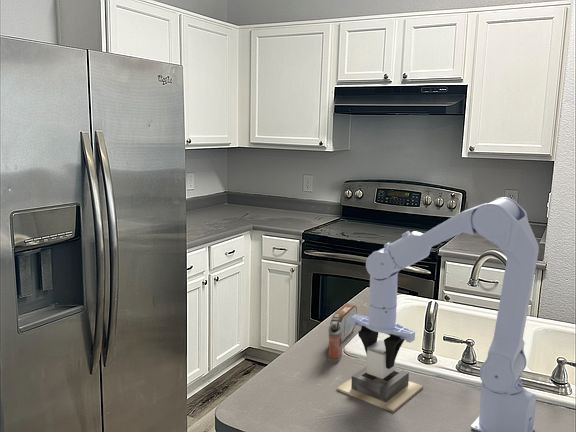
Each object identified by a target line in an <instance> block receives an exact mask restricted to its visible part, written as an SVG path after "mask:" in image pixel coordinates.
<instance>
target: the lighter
mask: <svg viewBox="0 0 576 432" xmlns="http://www.w3.org/2000/svg"><path fill="white" fill-rule="evenodd" d="M331 320H332V322H331V321H330V323H331V324H329V327H328V329H327V330H328V331H327V332H328V352H327V359H328V362H329V363H331V364H338V363H340V361H341V359H342V357H343V348H342V345H343V342H342V338H343V333H342V331H343V324H342V323H341V322H339V314H335V316H334V318H331Z"/></svg>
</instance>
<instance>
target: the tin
mask: <svg viewBox="0 0 576 432" xmlns="http://www.w3.org/2000/svg"><path fill="white" fill-rule="evenodd" d="M357 313H358V308H357V306H356V305H355V304H350V303H348V302H346V303H344V304H343V305H342V306H341V307H340V308H338V309H337V310H336V311H335V312H334V314H333V315H332V318H334V316H335V314H339V322H341V323H342V324H343V331H342V333H343V338H342V343H343V342H344V341H345V340H346V339H347V338H349V336H350V335H351V334H352V333H353V332H354V330H355V327H356V326H353V325H351V317H352V316H354V315H358V314H357ZM332 318H331V320H330V324H331V322H332ZM330 324H329V325H330Z"/></svg>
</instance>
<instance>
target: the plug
mask: <svg viewBox="0 0 576 432" xmlns="http://www.w3.org/2000/svg"><path fill="white" fill-rule="evenodd" d="M366 366H367V374H370V375H373V376H376V377H378V378H381V379H383V378H385V377H386V376H388V375H389V374H390V373H392V372H393V371H394V369H395V368H396V361H395V362H394V366H393V367H391V368H390V369H388V368H386V348H385V344H384V340H382V339H378V340H377V342H375V343H374V344H372V345H370V346H369V347H367V354H366Z"/></svg>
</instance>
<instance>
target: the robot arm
mask: <svg viewBox="0 0 576 432" xmlns="http://www.w3.org/2000/svg"><path fill="white" fill-rule="evenodd" d="M462 233H463V234H468V235H472V236H474V235H475V234H479V236H481V237H482V238H484V239H486V240H487V241H489V242H491V243H492V244H494V245H496V246H497V247H498V248H499V249H500V250H501V251H502V253H503V254H504V255H505V256H506V263H505V269H504V274H503V281H502V287H501V291H500V298H499V305H498V311H497V314H496V315H497V316H496V322H495V328H494V333H493V334H494V335H493V337H492V341H491V343H490V346H489V349H488V352H487V357H486V359H485V360H484V362H483V363H482V364H481V366H480V368H479V378H480V381H481V386H480V388H481V389H480V390H481V391H480V402H479V403H480V404H479V415H478V417H476V419H475V420H474V421H473V423H472V424H470V428H471V429H472V430H475V431H477V432H534V431H535V416H536V408H537V407H536V405H537V397H536V394H534V393H533V392H531V391H529V390H527V389H526V388H524V384H523V381H522V379H521V374H522V373H523V371H524V370H525V369H526V367H527V357H526V355H525V351H524V348H525V341H524V335H525V334H524V333H525V327H526V323H527V318H528V312H529V306H530V300H531V295H532V289H533V285H534V280H535V275H536V274H535V273H536V267H537V263H538V257H539V253H540V252H539V250H540V249H539V247H540V246H539V243H538V241H537V239H536V237H535V236H536V235H535V234H534V232H533V230H532V227H531V225H530V223H529V219H528V214H527V211H526V210H525V209H524V208H523V207H522V206H521V205H519V203H518V202H517V201H516V200H514V199H512V198H510V197H505V196H503V197H501V196H500V197H497V198H495V199H492V201H490V202H489V203H488V202H485V203H482V204H479V205H476V206H474V207H471V208H468V209H465V210H463V211H461V212H459V213H457V214H455V215H453V216H452V217H450V218H448V219H447V220H445V221H443V222H442V223H439V224H437V225H436V226H434V227H432V228H431V229H429V230H428V231H426V232H424V233H422V232H420V231H416V230H414V231H411V232H410V230H407V231H406V232H404V233H402V234H401V236H402V237H400V238H399V239H397V240H395V241H394V242H390V241H389V242H387V243H385V244H383V248H380V249H379V250H375V251H372V253H371V254H369V255H368V257H367V258H366V260H365V261H366V262H365V269H366V271H367V273H368V274H369V276H370V277H369V297H368V299H369V300H368V301H369V303H368V304H369V305H368V306H369V307H368V308H369V309H368V316H366V315H360V314H357V315H354V316H352V317H351V325H353V326H355V327H356V326H358V327H361V328H360V330H359V331H358V334H357V335H358V337H359V339H360V340H361V342H362V345H363V347H364V350H365V353H366V355H367V347H369V346H370V345H372V344H374V343H375V342H377V341H378V338H379V334H384V335H388V336H387V337H386V338H385V339H383V341H384V344H385V348H386V368H388V369H390V368H391V367H393V366H394V362H395V363H396V358H397V356H398V353H399V351H400V348H401V347H402V345H403V343H404V342H405V343H412V342H414V341H416V331H415V330H412V329H410V328H408V327H405V326H404V325H401V324H399V323H397V304H398V303H397V300H398V278H399V277H398V276H399V275H398V274H399V272H400V271H401V270H404V269H407V268H408V267H410V266H412V265H415V264H416V263H418V262H420V261H422V260H424V259H427V258H428V257H429V255H430V253H431V250H432V247H434V246H437V245H439V244H441V243H442V242H445V241H447V240H449V239H451V238H453V237H455V236H457V235H460V234H462Z"/></svg>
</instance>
